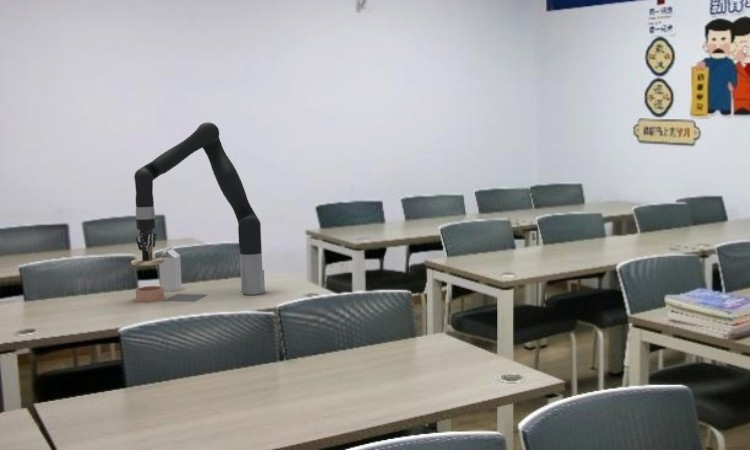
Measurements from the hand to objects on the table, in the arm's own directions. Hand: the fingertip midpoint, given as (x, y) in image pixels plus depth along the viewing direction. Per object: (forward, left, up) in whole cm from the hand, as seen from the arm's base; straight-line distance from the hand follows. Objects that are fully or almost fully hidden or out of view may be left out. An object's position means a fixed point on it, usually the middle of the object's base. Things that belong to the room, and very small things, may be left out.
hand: (147, 259), depth 339 cm
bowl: (0, 0, -17) cm, 17 cm away
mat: (-14, -4, -17) cm, 23 cm away
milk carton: (0, -20, -18) cm, 27 cm away
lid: (0, 0, -2) cm, 2 cm away
